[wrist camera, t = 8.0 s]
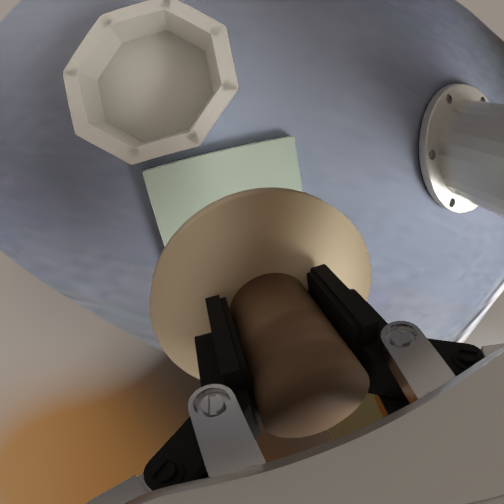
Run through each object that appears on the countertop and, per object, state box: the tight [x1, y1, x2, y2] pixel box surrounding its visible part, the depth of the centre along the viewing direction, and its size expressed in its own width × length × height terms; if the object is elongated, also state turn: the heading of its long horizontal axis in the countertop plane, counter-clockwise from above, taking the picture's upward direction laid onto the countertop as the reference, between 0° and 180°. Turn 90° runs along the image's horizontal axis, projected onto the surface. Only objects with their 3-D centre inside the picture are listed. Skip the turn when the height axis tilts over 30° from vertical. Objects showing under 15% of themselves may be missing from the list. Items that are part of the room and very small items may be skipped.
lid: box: [150, 187, 371, 438], centre depth 10 cm, size 9×9×6 cm
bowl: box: [63, 0, 239, 165], centre depth 15 cm, size 8×8×5 cm
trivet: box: [142, 136, 302, 247], centre depth 21 cm, size 10×10×1 cm
